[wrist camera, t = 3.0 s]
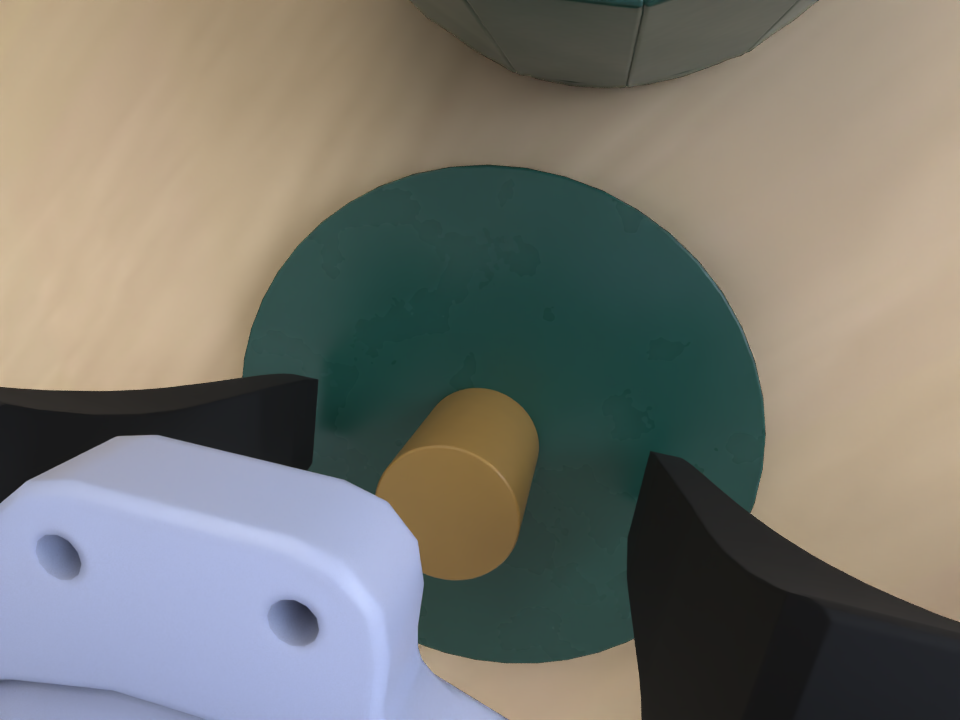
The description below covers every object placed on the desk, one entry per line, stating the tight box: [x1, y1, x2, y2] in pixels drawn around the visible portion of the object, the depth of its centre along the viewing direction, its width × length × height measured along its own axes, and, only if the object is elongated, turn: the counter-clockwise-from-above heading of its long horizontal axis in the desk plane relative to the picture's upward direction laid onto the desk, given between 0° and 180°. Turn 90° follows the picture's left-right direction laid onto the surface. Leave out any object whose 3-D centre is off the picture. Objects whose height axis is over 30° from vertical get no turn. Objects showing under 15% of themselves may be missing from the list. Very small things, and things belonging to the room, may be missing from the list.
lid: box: [242, 165, 766, 663], centre depth 12 cm, size 12×12×4 cm
